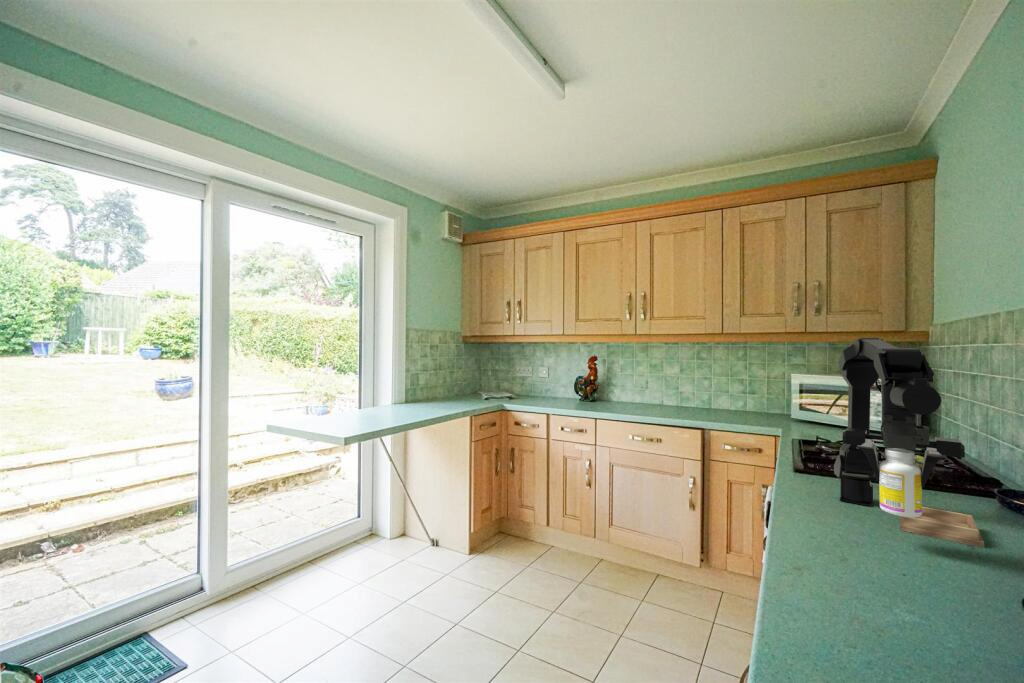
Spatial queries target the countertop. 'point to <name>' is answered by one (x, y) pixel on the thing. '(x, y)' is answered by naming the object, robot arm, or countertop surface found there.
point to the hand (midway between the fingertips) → (899, 483)
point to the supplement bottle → (900, 484)
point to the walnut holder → (944, 526)
